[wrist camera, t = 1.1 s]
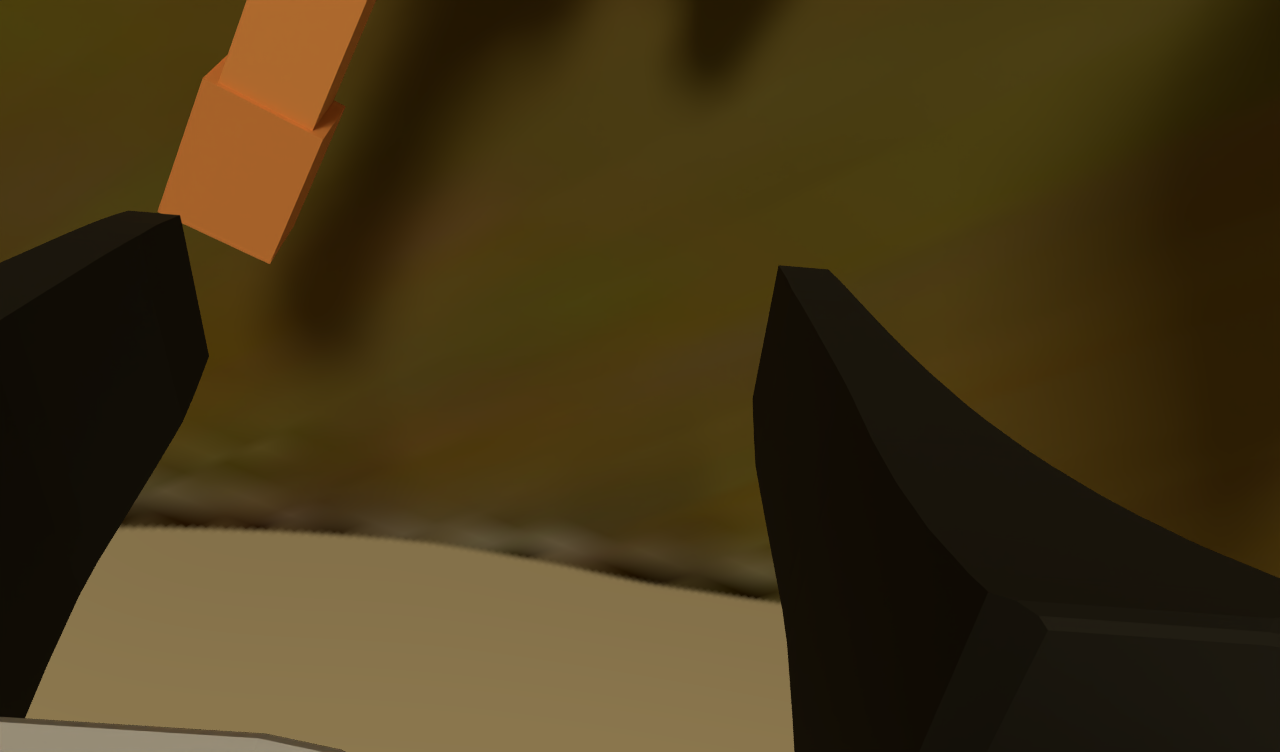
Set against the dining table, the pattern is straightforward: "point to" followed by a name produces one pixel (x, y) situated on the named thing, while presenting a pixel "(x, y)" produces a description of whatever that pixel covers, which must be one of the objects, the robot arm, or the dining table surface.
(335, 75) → the lever
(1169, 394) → the dining table surface
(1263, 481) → the dining table surface
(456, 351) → the dining table surface
